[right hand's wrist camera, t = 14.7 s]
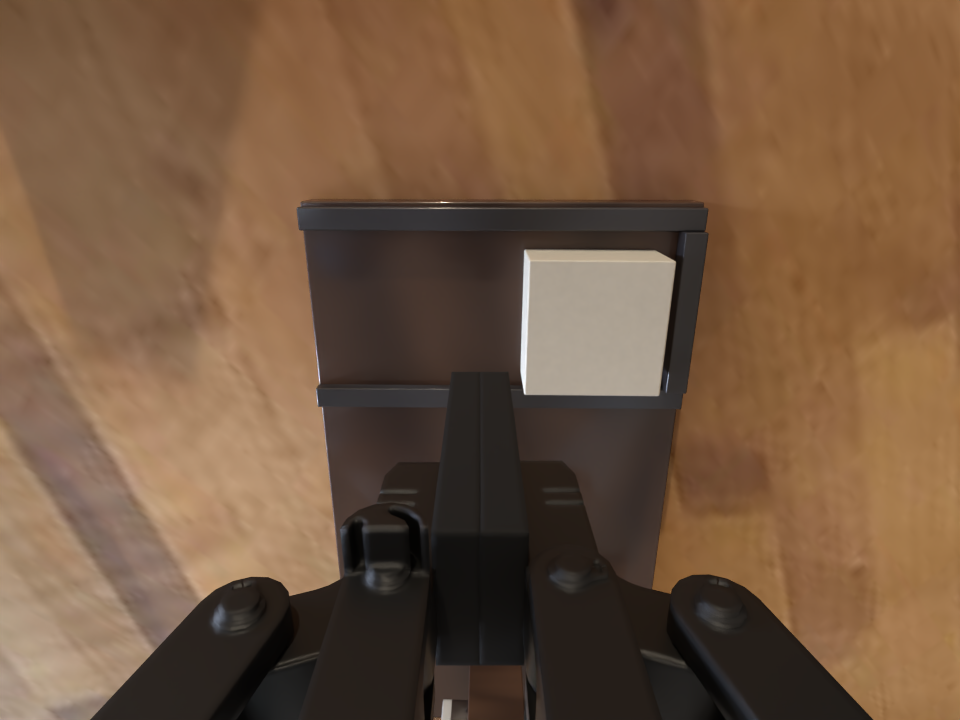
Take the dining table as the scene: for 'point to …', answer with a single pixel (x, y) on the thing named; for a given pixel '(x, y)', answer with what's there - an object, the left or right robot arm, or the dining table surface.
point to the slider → (595, 321)
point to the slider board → (488, 363)
